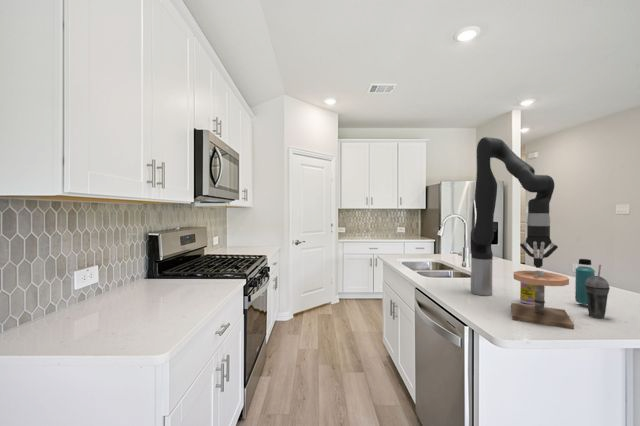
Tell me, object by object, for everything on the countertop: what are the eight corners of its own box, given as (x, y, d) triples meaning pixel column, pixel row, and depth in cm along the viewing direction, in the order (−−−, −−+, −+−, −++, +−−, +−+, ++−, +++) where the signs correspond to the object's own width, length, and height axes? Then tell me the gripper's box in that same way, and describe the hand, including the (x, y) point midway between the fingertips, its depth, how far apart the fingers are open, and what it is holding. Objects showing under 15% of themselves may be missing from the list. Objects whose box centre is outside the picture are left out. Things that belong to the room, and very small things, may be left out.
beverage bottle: (598, 308, 128) (599, 260, 127) (580, 307, 129) (581, 260, 129) (588, 304, 134) (589, 258, 134) (571, 303, 136) (571, 257, 135)
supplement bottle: (516, 301, 138) (517, 272, 138) (525, 299, 141) (525, 271, 141) (533, 305, 132) (533, 275, 132) (541, 303, 135) (542, 274, 135)
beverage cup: (579, 313, 122) (579, 263, 122) (595, 312, 123) (596, 262, 123) (597, 320, 115) (597, 266, 115) (614, 319, 116) (615, 266, 115)
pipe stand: (512, 319, 116) (513, 273, 116) (511, 306, 131) (511, 265, 131) (573, 329, 107) (574, 278, 106) (564, 313, 122) (565, 269, 122)
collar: (514, 282, 116) (514, 277, 116) (512, 273, 131) (513, 269, 130) (572, 288, 107) (572, 282, 107) (563, 278, 122) (563, 273, 122)
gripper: (519, 224, 125) (519, 267, 125) (560, 225, 118) (560, 270, 118) (518, 223, 131) (518, 264, 131) (557, 224, 124) (557, 267, 125)
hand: (538, 267), depth 125 cm, fingers closed
